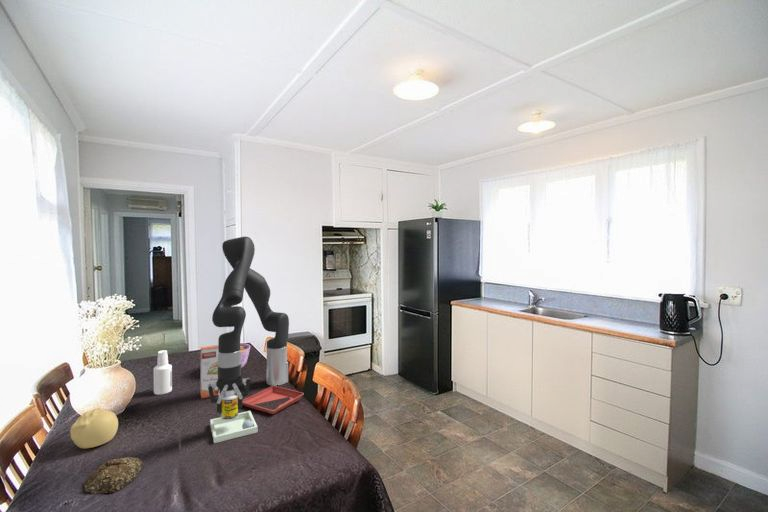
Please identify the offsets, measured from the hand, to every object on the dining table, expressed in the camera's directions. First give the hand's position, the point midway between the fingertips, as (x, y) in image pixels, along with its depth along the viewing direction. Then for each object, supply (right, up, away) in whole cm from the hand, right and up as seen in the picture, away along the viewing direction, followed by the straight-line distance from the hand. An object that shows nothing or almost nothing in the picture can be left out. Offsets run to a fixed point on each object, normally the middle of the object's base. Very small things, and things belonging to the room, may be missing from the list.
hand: (229, 410), depth 123 cm
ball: (+7, -6, -2) cm, 9 cm away
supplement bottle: (0, -3, 0) cm, 3 cm away
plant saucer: (+9, -7, +21) cm, 23 cm away
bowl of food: (-26, -5, +58) cm, 64 cm away
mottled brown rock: (-21, -8, -26) cm, 34 cm away
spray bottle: (-43, -6, +31) cm, 54 cm away
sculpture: (-40, -7, -9) cm, 42 cm away
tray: (+1, -7, 0) cm, 7 cm away
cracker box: (-18, -6, +30) cm, 36 cm away
